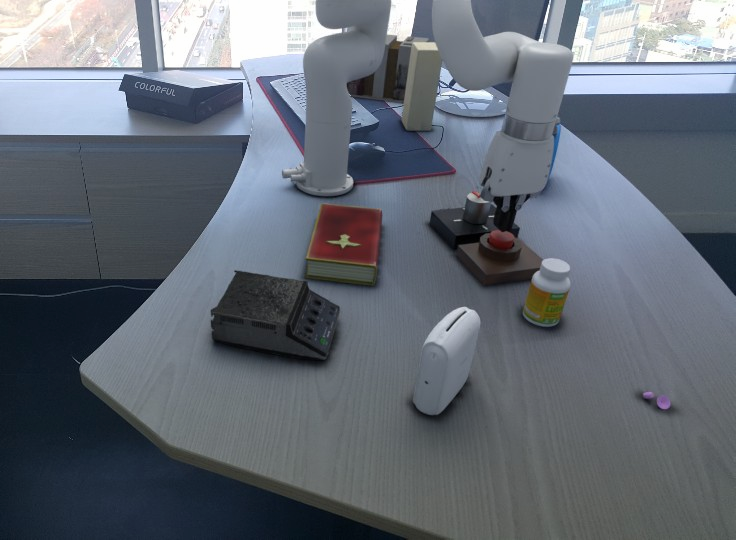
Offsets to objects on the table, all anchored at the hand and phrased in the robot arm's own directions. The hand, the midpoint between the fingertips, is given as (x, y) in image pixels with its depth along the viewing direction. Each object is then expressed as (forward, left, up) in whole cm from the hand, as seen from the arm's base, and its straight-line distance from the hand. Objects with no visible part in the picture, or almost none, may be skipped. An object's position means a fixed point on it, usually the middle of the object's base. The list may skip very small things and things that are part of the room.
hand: (501, 227), depth 110 cm
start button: (0, 0, -3) cm, 3 cm away
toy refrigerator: (+16, +67, -7) cm, 69 cm away
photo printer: (-25, -29, -7) cm, 39 cm away
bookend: (+18, +97, -7) cm, 99 cm away
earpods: (+2, -37, -7) cm, 38 cm away
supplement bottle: (-2, -17, -7) cm, 18 cm away
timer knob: (+1, +10, -4) cm, 11 cm away
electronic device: (-43, -11, -7) cm, 45 cm away
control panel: (+1, +10, -7) cm, 12 cm away
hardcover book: (-25, +9, -7) cm, 27 cm away
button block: (0, -2, -7) cm, 7 cm away
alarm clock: (+26, +29, -7) cm, 40 cm away
